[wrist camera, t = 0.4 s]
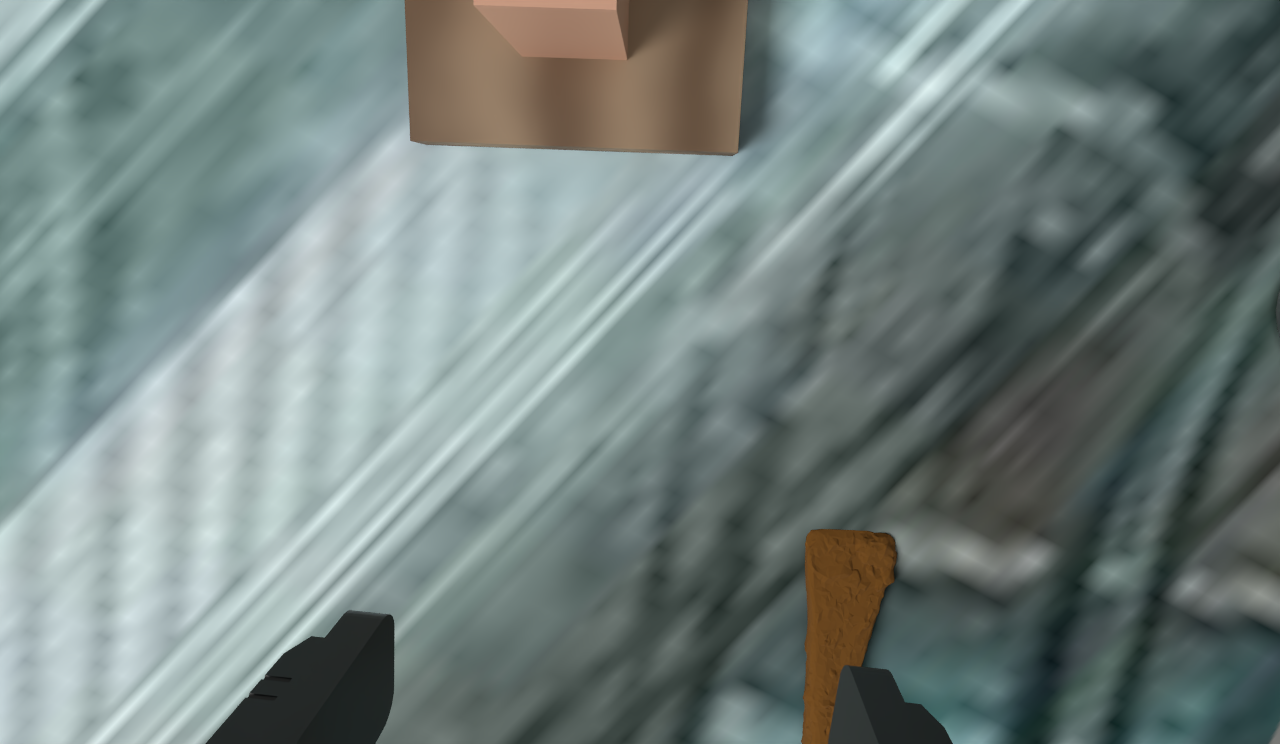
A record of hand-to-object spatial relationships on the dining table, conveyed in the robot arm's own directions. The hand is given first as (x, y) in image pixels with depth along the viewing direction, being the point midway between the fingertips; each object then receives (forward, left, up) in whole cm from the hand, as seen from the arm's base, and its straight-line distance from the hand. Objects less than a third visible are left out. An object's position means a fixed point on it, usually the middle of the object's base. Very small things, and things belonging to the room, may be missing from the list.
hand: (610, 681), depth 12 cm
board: (+4, -17, -27) cm, 32 cm away
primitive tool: (-12, +19, -28) cm, 36 cm away
